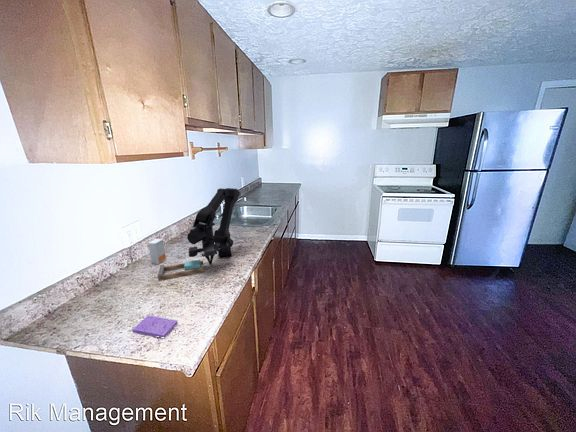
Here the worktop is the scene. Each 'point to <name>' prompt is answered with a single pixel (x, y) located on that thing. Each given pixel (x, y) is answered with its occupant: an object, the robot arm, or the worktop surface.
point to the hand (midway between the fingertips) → (210, 264)
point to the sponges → (155, 326)
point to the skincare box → (157, 251)
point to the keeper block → (192, 265)
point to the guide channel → (177, 274)
